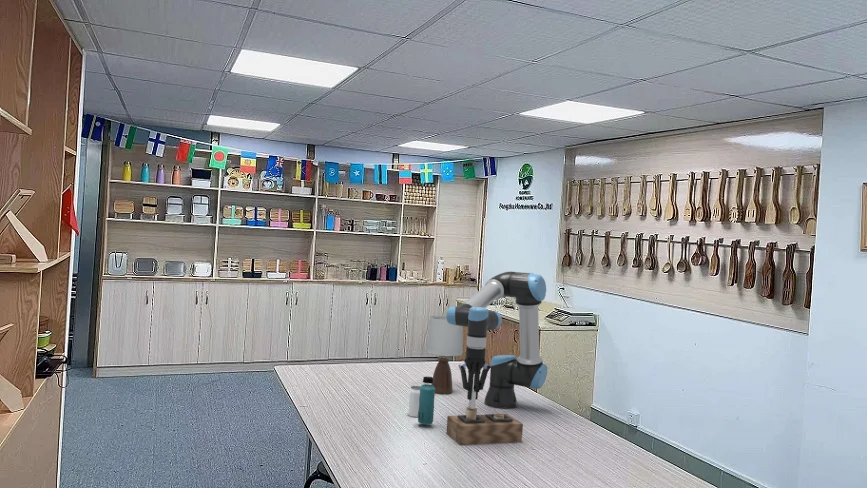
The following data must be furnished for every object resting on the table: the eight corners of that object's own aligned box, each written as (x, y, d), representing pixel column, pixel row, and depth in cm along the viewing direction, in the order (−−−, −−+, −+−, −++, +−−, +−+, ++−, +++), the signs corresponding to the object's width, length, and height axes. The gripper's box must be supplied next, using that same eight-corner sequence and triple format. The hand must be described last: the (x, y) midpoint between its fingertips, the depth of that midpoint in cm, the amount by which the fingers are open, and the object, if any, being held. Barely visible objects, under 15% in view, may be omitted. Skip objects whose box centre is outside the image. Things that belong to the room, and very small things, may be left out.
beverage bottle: (435, 425, 269) (438, 376, 269) (429, 429, 263) (433, 379, 262) (420, 422, 271) (423, 374, 271) (414, 426, 265) (418, 377, 265)
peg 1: (473, 426, 257) (474, 406, 257) (477, 429, 253) (478, 409, 253) (463, 427, 255) (465, 407, 255) (467, 430, 252) (469, 410, 252)
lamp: (467, 394, 325) (472, 320, 324) (436, 397, 314) (441, 321, 314) (445, 386, 340) (450, 315, 340) (415, 388, 330) (420, 315, 329)
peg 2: (500, 432, 261) (501, 413, 261) (504, 436, 257) (505, 416, 257) (490, 433, 260) (492, 413, 260) (495, 436, 256) (496, 416, 256)
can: (421, 418, 278) (423, 390, 277) (406, 416, 279) (408, 388, 279) (424, 414, 284) (426, 386, 284) (410, 412, 285) (411, 385, 285)
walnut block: (505, 430, 267) (506, 411, 267) (521, 441, 254) (523, 421, 254) (446, 433, 258) (447, 413, 258) (460, 445, 245) (461, 423, 245)
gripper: (487, 345, 260) (482, 404, 260) (456, 345, 255) (452, 405, 255) (495, 349, 253) (491, 410, 253) (464, 348, 248) (459, 410, 248)
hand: (471, 407), depth 254 cm, fingers closed
